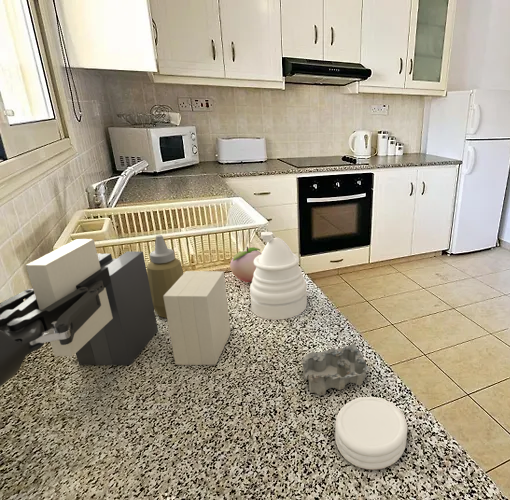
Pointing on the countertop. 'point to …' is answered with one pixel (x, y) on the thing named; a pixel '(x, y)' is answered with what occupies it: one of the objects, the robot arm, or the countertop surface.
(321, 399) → the countertop surface
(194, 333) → the white books
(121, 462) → the countertop surface
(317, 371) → the egg carton
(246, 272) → the decorative fruit
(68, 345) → the thin white book
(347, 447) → the white jar lid
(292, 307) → the honey pot
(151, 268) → the squeeze bottle
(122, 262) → the grey books
